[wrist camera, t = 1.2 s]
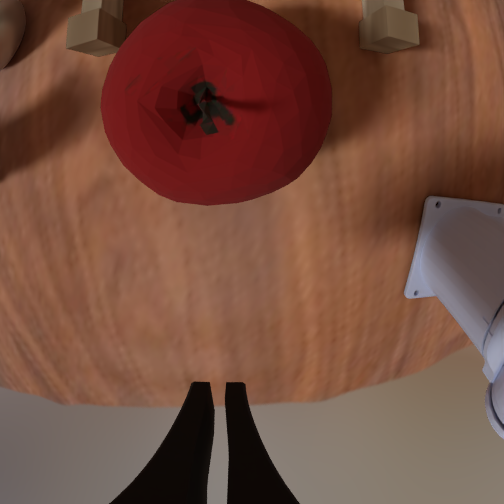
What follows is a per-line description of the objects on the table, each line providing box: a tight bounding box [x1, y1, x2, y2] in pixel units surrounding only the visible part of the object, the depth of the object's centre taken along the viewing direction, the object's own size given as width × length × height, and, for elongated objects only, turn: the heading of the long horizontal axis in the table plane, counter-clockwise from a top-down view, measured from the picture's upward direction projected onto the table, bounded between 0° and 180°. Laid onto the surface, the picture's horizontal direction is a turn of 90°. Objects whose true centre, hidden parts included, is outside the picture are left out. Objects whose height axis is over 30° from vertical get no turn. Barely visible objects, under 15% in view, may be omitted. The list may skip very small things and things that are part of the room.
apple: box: [101, 0, 332, 206], centre depth 11 cm, size 9×9×10 cm
